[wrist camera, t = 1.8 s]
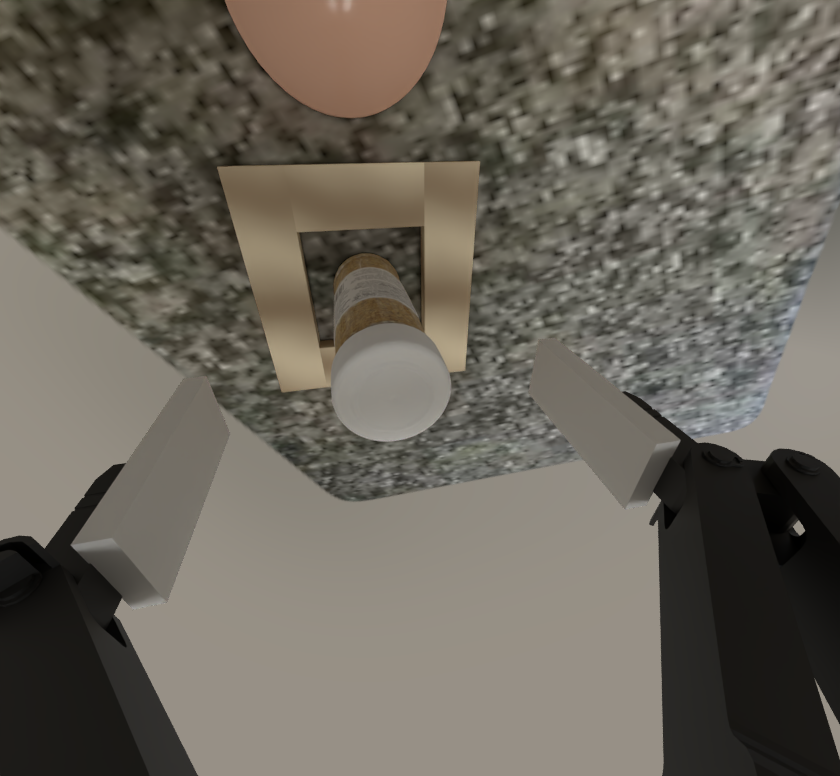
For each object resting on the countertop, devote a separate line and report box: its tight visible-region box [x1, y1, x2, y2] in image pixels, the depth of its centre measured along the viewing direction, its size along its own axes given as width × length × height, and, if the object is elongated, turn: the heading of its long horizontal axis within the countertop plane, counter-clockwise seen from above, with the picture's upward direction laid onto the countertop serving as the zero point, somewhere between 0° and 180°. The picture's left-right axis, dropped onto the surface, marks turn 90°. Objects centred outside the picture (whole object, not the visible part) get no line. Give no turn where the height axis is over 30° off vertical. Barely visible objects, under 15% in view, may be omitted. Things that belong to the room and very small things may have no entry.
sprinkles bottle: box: [331, 253, 451, 441], centre depth 18 cm, size 5×5×14 cm
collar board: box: [217, 161, 480, 392], centre depth 23 cm, size 14×14×1 cm
